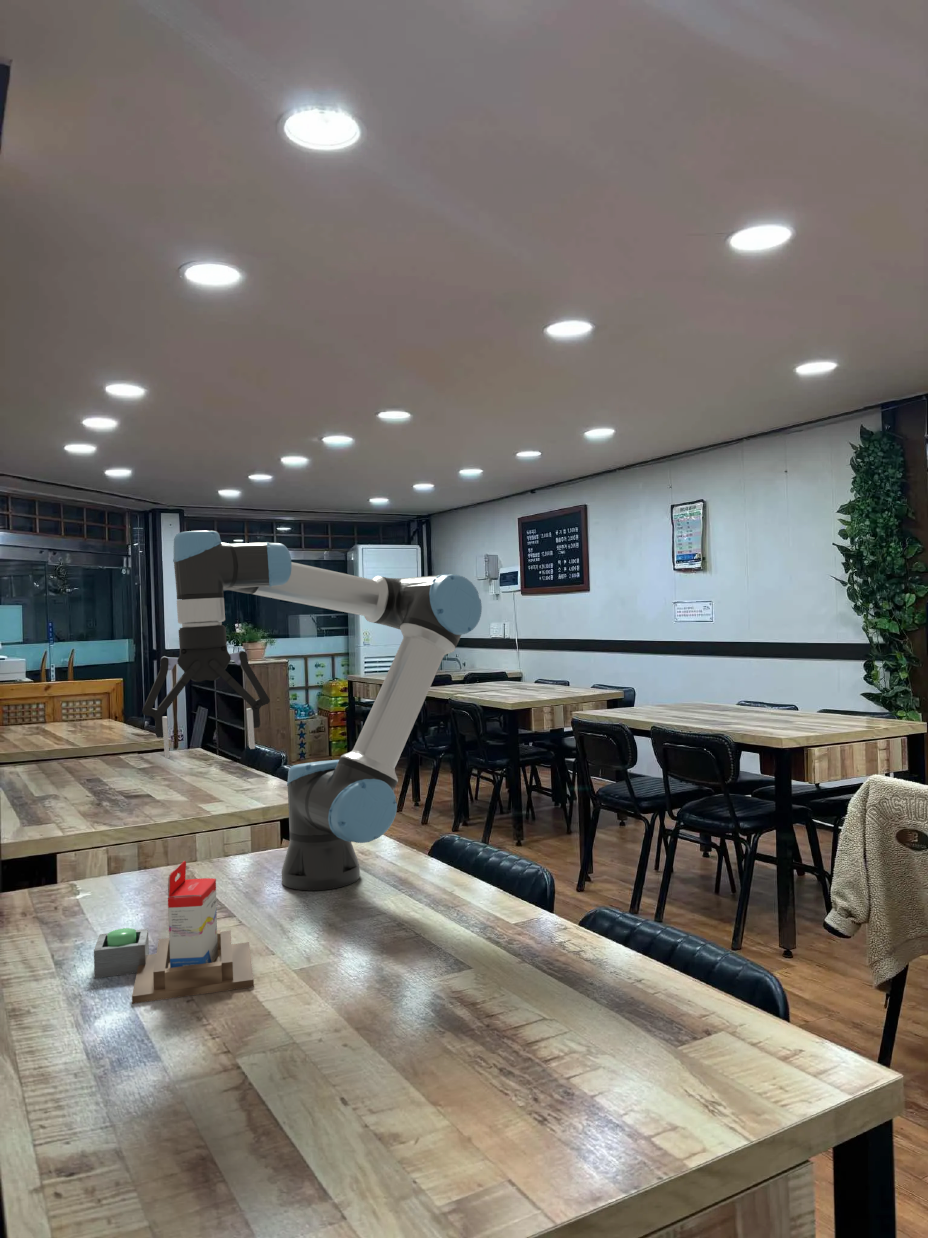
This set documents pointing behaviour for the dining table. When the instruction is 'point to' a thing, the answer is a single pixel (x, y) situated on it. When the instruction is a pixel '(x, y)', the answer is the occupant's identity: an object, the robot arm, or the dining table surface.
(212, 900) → the ink box
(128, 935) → the button
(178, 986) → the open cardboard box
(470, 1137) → the dining table surface
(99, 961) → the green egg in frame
